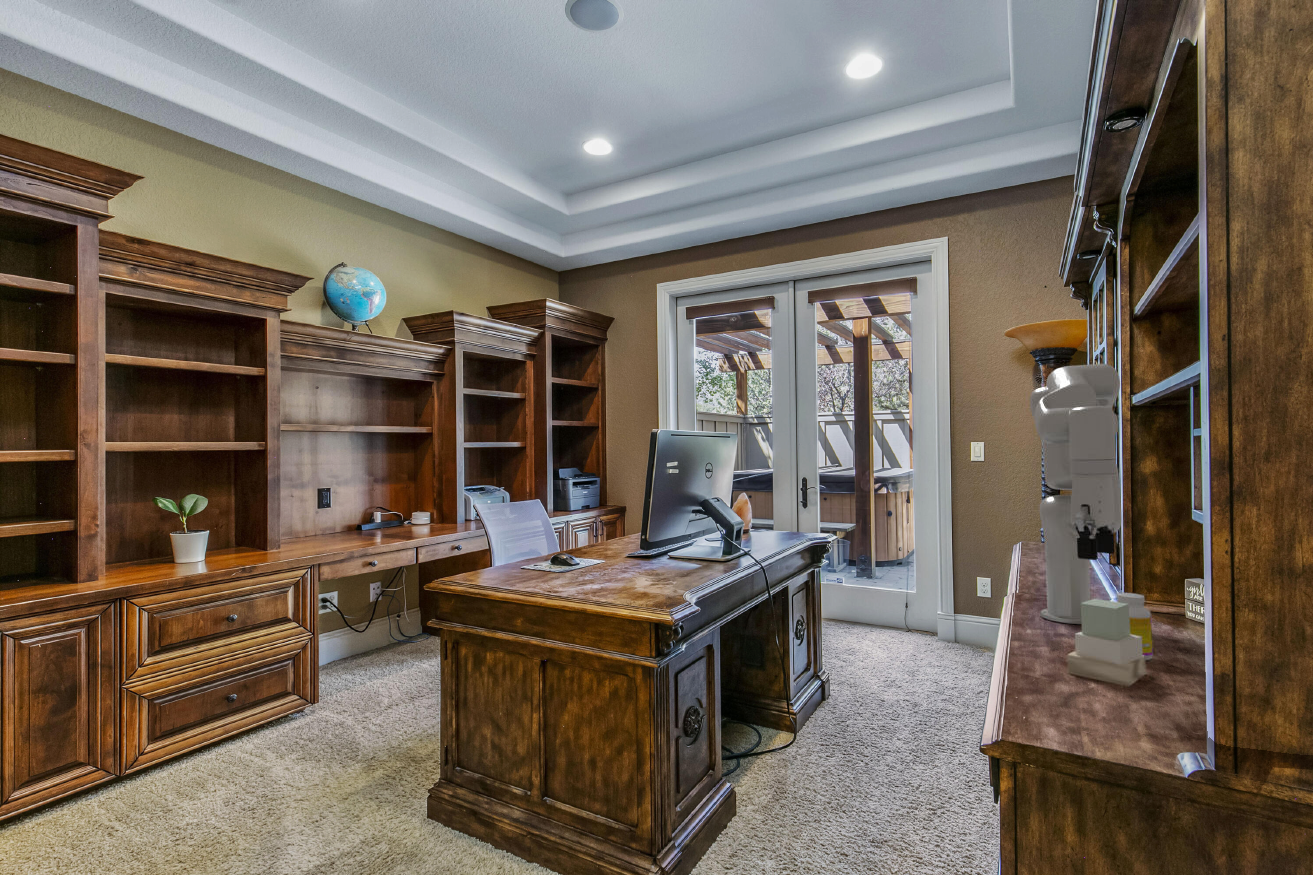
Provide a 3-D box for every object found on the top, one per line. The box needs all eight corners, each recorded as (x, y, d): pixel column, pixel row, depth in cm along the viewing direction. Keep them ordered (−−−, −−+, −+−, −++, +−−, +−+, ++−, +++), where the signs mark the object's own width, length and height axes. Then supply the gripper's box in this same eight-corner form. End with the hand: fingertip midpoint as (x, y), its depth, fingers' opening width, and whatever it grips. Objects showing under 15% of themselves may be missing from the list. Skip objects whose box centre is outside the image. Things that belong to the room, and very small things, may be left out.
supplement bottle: (1160, 662, 132) (1157, 598, 132) (1123, 660, 133) (1120, 598, 134) (1142, 652, 139) (1139, 591, 139) (1107, 651, 140) (1105, 591, 140)
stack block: (1095, 628, 131) (1094, 598, 131) (1130, 634, 126) (1128, 603, 126) (1082, 634, 127) (1080, 603, 127) (1117, 640, 122) (1115, 608, 122)
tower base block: (1086, 663, 133) (1086, 644, 133) (1145, 676, 126) (1144, 655, 126) (1068, 675, 127) (1067, 654, 127) (1128, 689, 119) (1127, 667, 119)
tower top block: (1097, 647, 131) (1096, 627, 132) (1142, 657, 124) (1141, 636, 125) (1075, 654, 128) (1074, 633, 128) (1121, 665, 121) (1120, 643, 121)
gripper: (1086, 467, 136) (1090, 548, 136) (1054, 470, 125) (1058, 559, 125) (1129, 467, 130) (1133, 552, 130) (1099, 471, 119) (1103, 564, 119)
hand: (1096, 555), depth 127 cm, fingers open, 9 cm apart
